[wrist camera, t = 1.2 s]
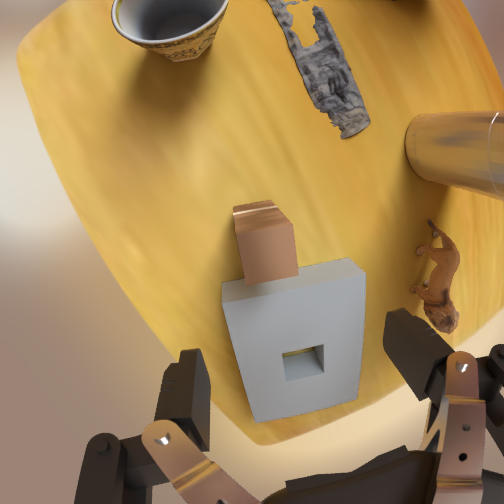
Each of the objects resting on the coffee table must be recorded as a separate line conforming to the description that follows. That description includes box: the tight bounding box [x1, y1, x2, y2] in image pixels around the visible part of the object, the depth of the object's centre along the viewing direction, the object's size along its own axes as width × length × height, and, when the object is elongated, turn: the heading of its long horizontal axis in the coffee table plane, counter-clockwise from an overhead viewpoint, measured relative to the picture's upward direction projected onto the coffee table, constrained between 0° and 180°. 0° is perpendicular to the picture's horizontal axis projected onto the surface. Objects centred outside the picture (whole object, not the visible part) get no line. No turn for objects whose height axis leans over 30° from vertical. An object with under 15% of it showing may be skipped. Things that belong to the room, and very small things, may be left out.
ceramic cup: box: [111, 0, 229, 62], centre depth 18 cm, size 13×10×10 cm
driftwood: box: [267, 0, 370, 139], centre depth 25 cm, size 21×7×2 cm, turn 19°
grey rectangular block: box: [222, 258, 366, 423], centre depth 35 cm, size 16×22×5 cm
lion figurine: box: [410, 219, 460, 334], centre depth 32 cm, size 15×5×9 cm, turn 11°
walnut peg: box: [233, 200, 299, 286], centre depth 26 cm, size 4×4×12 cm
